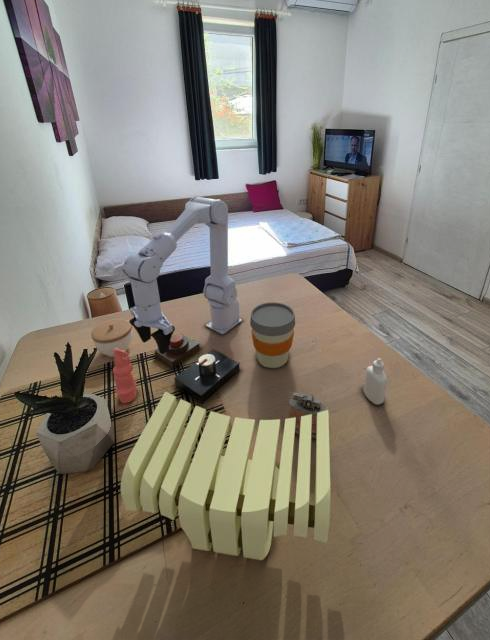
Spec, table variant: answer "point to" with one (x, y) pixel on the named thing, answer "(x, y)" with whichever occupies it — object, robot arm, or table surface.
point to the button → (176, 340)
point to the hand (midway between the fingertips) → (155, 346)
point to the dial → (207, 365)
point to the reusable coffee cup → (272, 333)
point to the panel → (207, 378)
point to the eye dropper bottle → (375, 382)
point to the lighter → (305, 410)
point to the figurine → (123, 376)
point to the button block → (178, 352)
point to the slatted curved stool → (228, 478)
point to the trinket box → (112, 336)
